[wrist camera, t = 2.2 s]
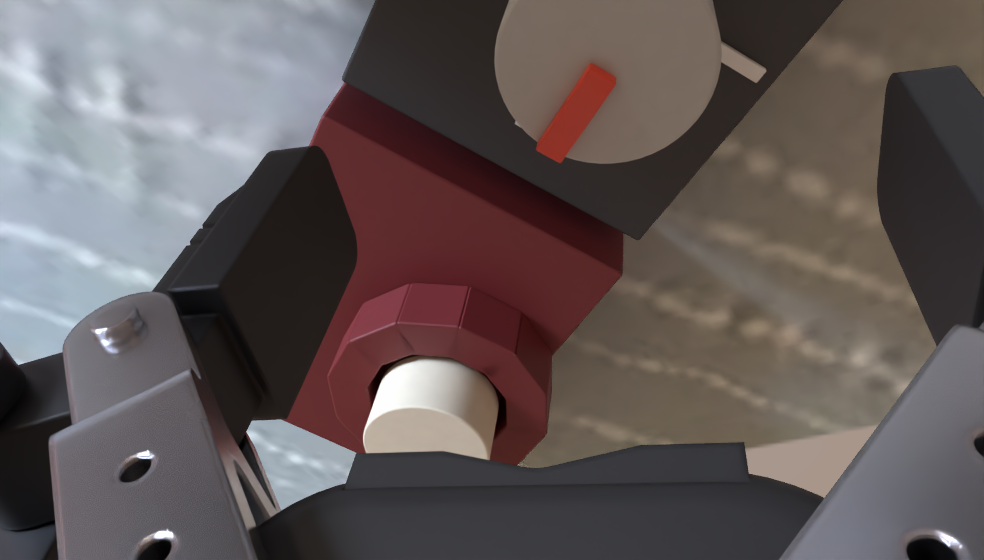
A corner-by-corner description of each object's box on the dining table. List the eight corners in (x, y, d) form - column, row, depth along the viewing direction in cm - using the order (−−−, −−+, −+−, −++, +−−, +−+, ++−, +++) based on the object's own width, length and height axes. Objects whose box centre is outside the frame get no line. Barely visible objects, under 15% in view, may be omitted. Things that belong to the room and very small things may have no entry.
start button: (410, 335, 22) (392, 388, 21) (521, 388, 23) (512, 443, 21) (362, 405, 24) (343, 458, 23) (465, 452, 25) (454, 506, 24)
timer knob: (582, -155, 16) (566, -94, 12) (744, -50, 17) (774, 36, 13) (490, 14, 18) (453, 107, 15) (635, 99, 19) (635, 208, 15)
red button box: (356, 63, 22) (298, 150, 19) (645, 221, 24) (647, 330, 20) (240, 324, 30) (180, 426, 26) (470, 430, 32) (446, 540, 28)
